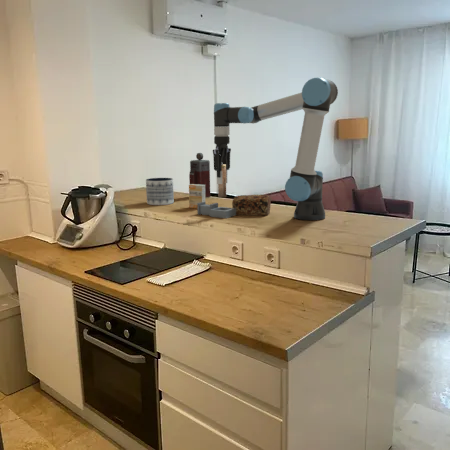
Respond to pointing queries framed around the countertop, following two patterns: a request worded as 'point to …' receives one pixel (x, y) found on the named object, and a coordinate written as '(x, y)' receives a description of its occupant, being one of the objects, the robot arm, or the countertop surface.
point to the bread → (252, 204)
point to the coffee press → (200, 173)
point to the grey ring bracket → (215, 210)
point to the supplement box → (196, 195)
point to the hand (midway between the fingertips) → (222, 183)
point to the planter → (159, 191)
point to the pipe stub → (222, 183)
